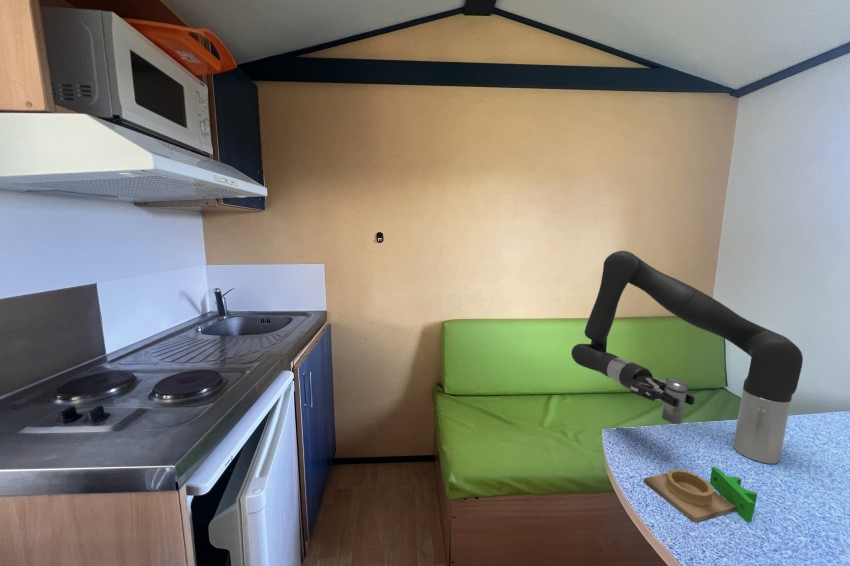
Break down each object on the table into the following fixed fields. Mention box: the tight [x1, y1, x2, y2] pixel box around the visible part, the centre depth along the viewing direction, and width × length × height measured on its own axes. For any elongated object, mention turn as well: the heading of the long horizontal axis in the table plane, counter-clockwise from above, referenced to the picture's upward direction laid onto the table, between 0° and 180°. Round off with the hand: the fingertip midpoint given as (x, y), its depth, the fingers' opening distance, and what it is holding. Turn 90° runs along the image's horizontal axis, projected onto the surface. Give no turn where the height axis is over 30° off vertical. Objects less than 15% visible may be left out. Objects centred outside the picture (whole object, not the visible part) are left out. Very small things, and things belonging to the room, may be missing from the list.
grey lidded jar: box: [661, 378, 689, 425], centre depth 89 cm, size 5×5×10 cm
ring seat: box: [643, 468, 736, 523], centre depth 79 cm, size 12×12×4 cm
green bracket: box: [709, 466, 758, 523], centre depth 77 cm, size 11×4×5 cm, turn 172°
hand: (685, 402), depth 86 cm, fingers closed on grey lidded jar, 4 cm apart
